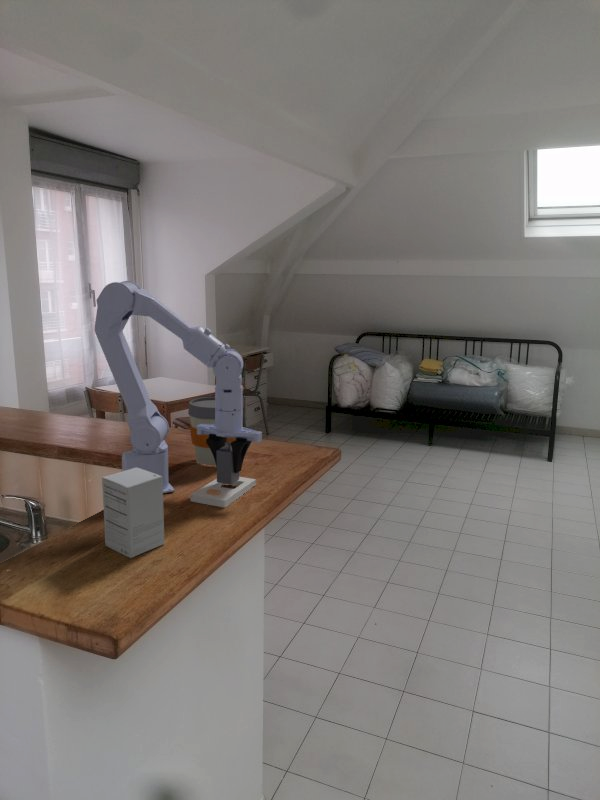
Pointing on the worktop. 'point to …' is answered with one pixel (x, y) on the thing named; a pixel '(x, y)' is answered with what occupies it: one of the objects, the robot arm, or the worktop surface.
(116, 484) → the supplement box
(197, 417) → the reusable coffee cup
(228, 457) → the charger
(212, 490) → the white board with cutouts
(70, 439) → the worktop surface
